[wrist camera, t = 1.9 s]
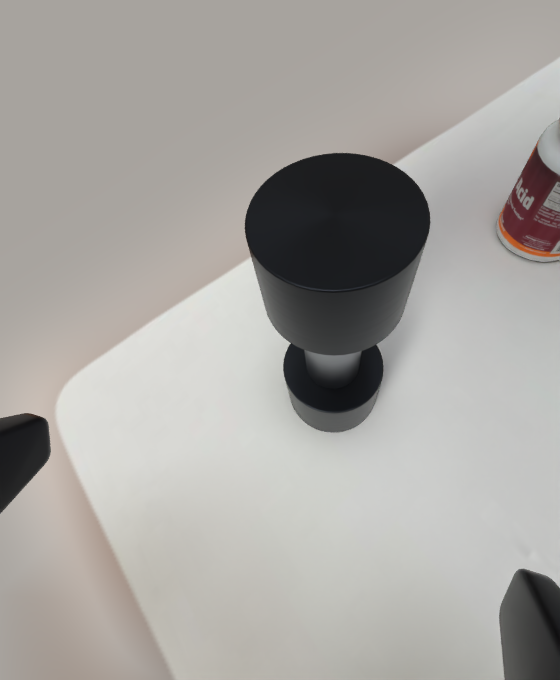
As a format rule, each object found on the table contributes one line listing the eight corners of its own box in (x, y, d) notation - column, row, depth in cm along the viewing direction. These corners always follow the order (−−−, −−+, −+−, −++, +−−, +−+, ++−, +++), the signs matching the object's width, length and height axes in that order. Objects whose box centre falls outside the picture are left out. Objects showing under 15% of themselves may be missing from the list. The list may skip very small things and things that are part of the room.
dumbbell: (371, 439, 20) (427, 301, 9) (282, 424, 21) (225, 282, 9) (379, 357, 22) (432, 154, 10) (297, 347, 23) (264, 149, 11)
